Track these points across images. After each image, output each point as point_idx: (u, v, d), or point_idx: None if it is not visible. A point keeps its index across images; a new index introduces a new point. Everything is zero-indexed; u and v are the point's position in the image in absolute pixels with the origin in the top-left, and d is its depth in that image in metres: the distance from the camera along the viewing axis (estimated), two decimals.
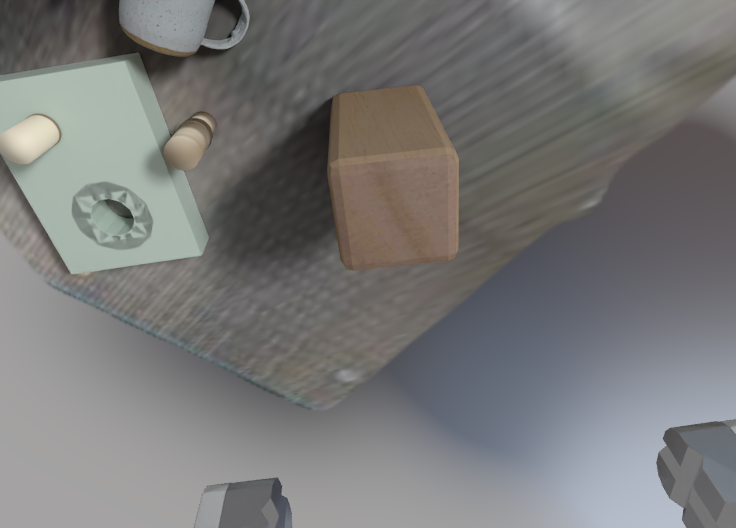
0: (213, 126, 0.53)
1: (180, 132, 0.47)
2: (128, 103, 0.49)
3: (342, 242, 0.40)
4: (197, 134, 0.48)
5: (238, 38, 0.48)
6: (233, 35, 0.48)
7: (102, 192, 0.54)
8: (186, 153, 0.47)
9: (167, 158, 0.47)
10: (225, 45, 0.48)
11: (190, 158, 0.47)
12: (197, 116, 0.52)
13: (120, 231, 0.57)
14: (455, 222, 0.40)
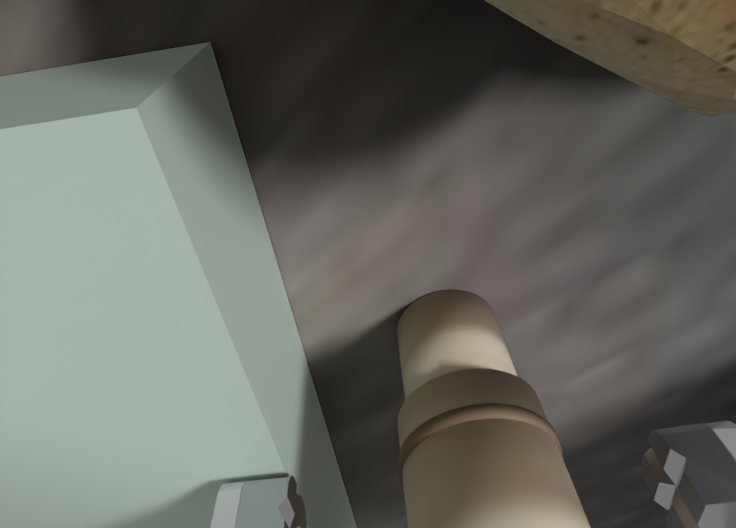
0: None
1: None
2: (161, 344, 0.08)
3: None
4: None
5: None
6: None
7: None
8: None
9: None
10: None
11: None
12: (462, 334, 0.11)
13: None
14: None
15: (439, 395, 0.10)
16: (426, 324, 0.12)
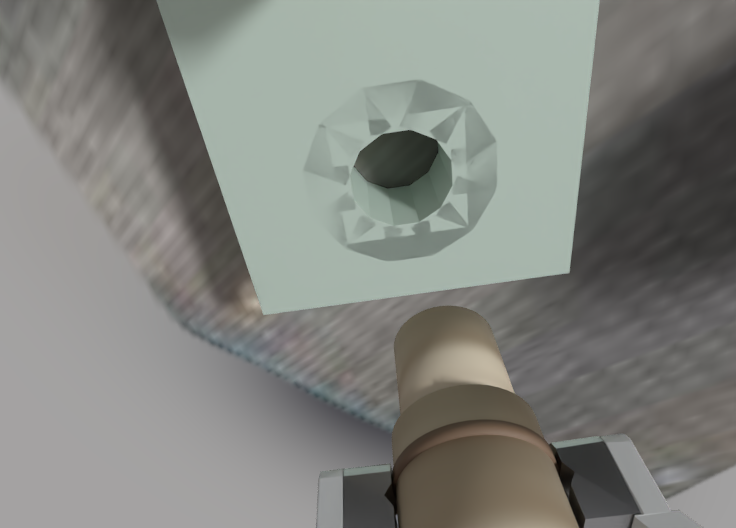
0: None
1: None
2: None
3: None
4: None
5: None
6: None
7: (399, 111, 0.20)
8: None
9: None
10: None
11: None
12: (457, 350, 0.11)
13: (396, 216, 0.24)
14: None
15: (432, 411, 0.10)
16: (422, 340, 0.12)
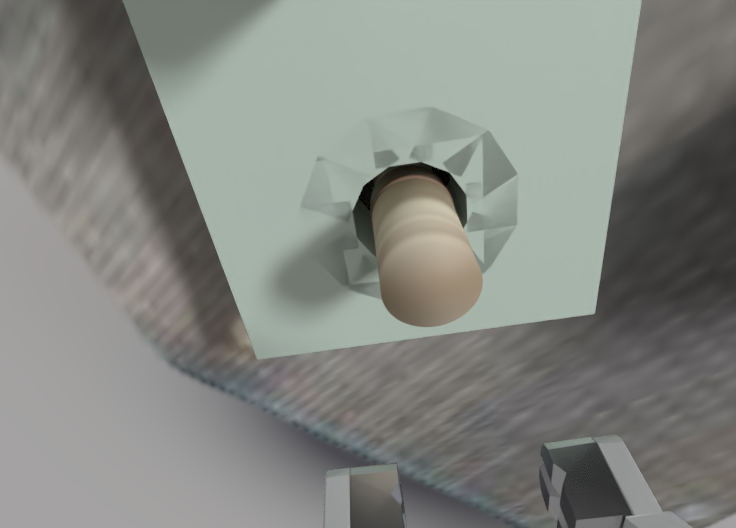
0: None
1: (419, 218, 0.16)
2: None
3: None
4: (456, 220, 0.17)
5: None
6: None
7: (408, 142, 0.18)
8: (447, 284, 0.15)
9: (387, 298, 0.16)
10: None
11: (454, 297, 0.16)
12: None
13: None
14: None
15: (390, 176, 0.19)
16: None
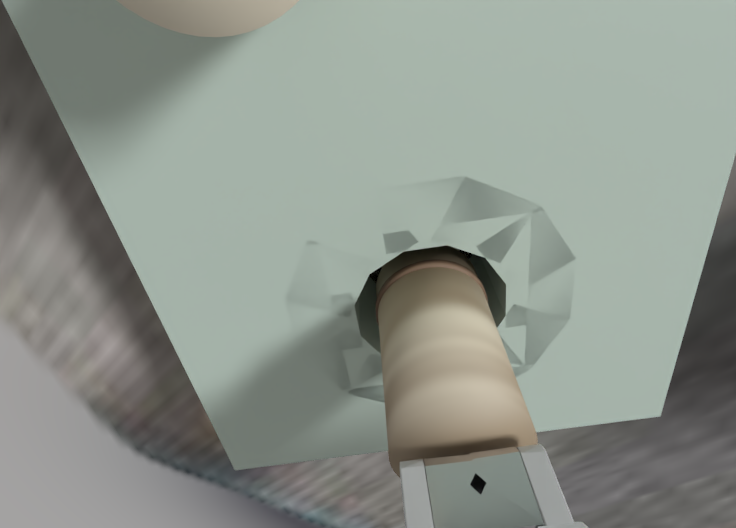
0: None
1: (445, 345, 0.11)
2: None
3: None
4: (496, 340, 0.12)
5: None
6: None
7: (430, 221, 0.13)
8: (485, 447, 0.11)
9: (398, 463, 0.11)
10: None
11: None
12: None
13: None
14: None
15: (402, 260, 0.15)
16: None
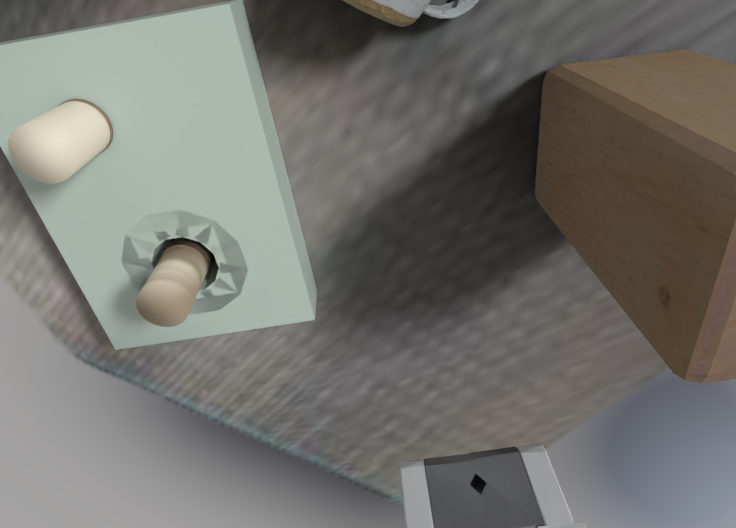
0: None
1: (160, 272, 0.32)
2: (229, 79, 0.29)
3: (704, 333, 0.20)
4: (186, 271, 0.32)
5: (472, 1, 0.30)
6: None
7: (172, 227, 0.34)
8: (169, 305, 0.31)
9: (142, 312, 0.31)
10: (451, 12, 0.30)
11: (176, 311, 0.31)
12: None
13: None
14: None
15: (170, 244, 0.35)
16: None
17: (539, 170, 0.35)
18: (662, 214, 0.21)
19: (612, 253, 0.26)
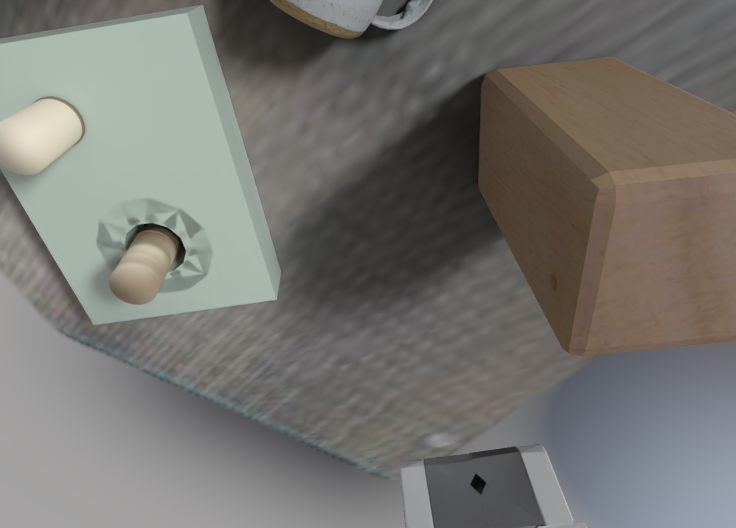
0: None
1: (131, 255, 0.35)
2: (189, 80, 0.32)
3: (579, 314, 0.23)
4: (155, 254, 0.36)
5: (418, 13, 0.33)
6: (410, 9, 0.33)
7: (142, 213, 0.37)
8: (139, 285, 0.34)
9: (114, 292, 0.35)
10: (399, 23, 0.33)
11: (145, 290, 0.35)
12: None
13: None
14: None
15: (141, 229, 0.38)
16: None
17: (480, 165, 0.38)
18: (551, 211, 0.24)
19: (524, 243, 0.29)
